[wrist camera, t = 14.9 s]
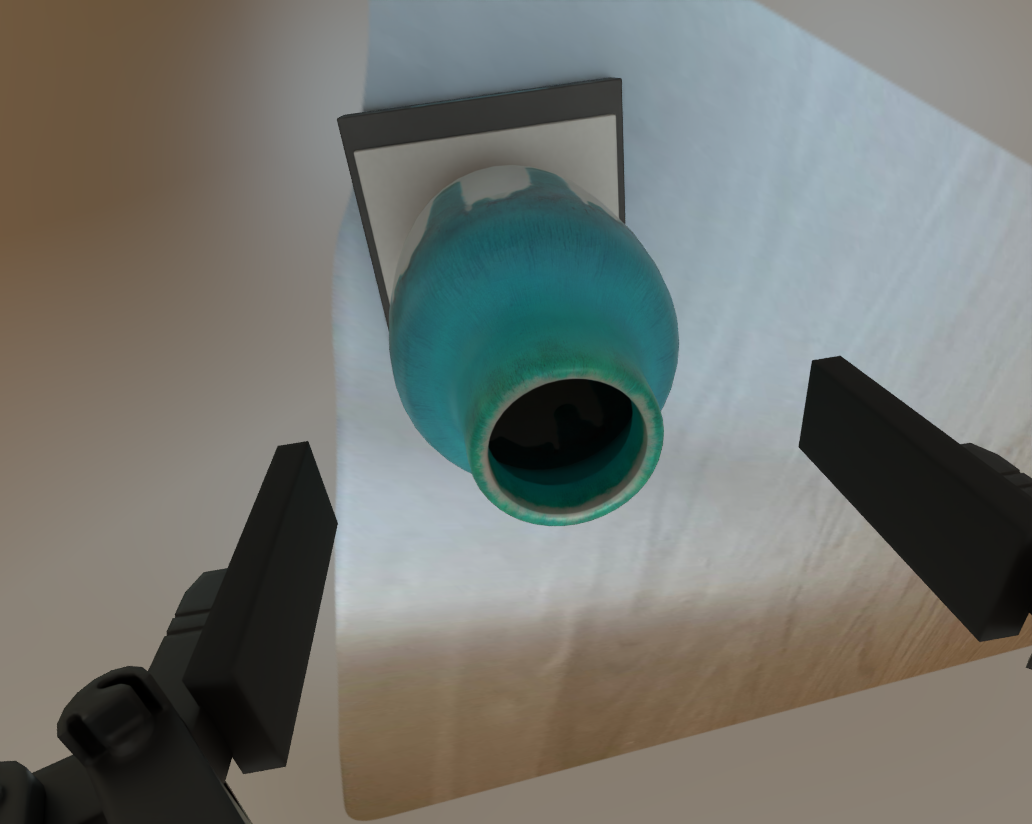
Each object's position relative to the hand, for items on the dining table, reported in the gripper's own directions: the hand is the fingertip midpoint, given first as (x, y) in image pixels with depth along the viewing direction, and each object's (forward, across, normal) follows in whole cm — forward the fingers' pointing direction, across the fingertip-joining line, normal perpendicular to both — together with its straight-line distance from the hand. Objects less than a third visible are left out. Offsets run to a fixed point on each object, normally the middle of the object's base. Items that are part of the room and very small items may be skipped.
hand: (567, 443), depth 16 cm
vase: (+19, 0, 0) cm, 19 cm away
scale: (+22, 0, 0) cm, 22 cm away
